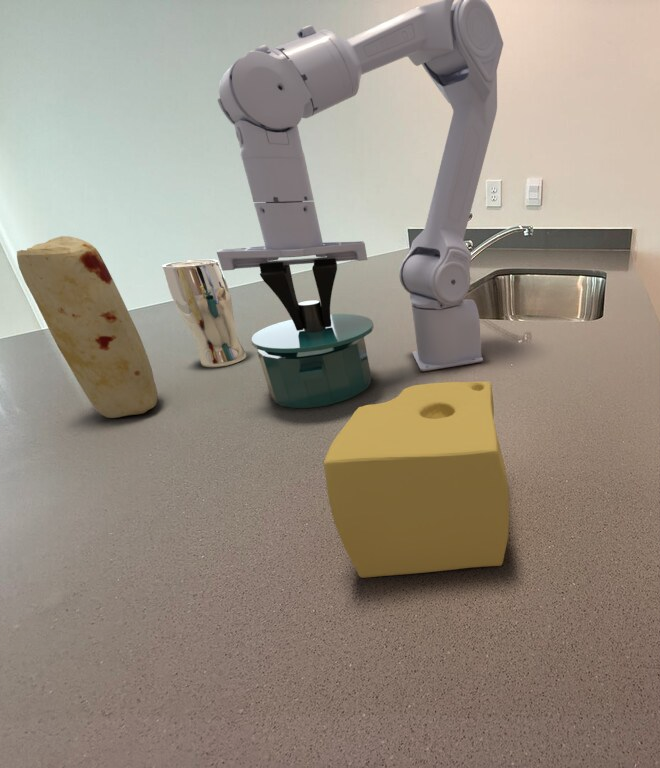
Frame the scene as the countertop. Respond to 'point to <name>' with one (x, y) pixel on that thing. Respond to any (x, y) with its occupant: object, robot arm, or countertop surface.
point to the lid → (312, 331)
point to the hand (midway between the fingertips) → (314, 326)
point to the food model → (90, 324)
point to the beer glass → (206, 309)
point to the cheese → (421, 482)
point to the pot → (317, 375)
